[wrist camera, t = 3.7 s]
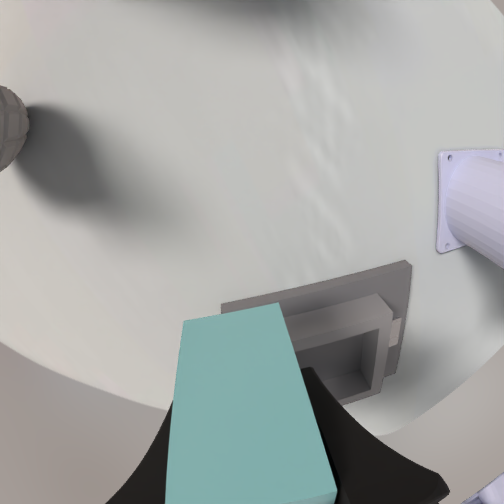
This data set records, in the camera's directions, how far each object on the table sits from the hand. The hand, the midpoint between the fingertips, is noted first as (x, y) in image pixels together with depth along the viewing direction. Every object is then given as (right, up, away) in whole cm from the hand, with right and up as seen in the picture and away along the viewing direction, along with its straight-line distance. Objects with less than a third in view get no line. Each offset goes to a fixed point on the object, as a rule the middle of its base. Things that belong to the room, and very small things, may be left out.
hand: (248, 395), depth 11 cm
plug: (0, +1, +2) cm, 2 cm away
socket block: (+6, -2, +12) cm, 13 cm away
